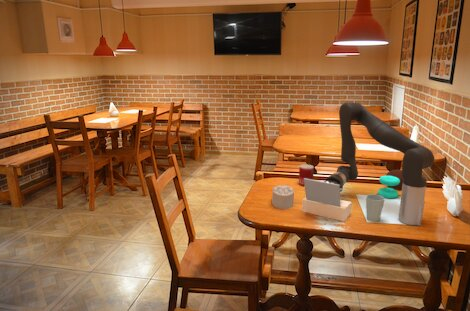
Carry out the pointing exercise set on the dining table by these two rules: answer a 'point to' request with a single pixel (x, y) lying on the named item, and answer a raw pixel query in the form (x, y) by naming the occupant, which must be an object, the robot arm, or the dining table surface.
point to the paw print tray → (282, 197)
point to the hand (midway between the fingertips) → (322, 191)
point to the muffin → (399, 175)
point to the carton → (327, 209)
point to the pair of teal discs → (389, 182)
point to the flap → (322, 192)
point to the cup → (374, 207)
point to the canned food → (305, 173)
